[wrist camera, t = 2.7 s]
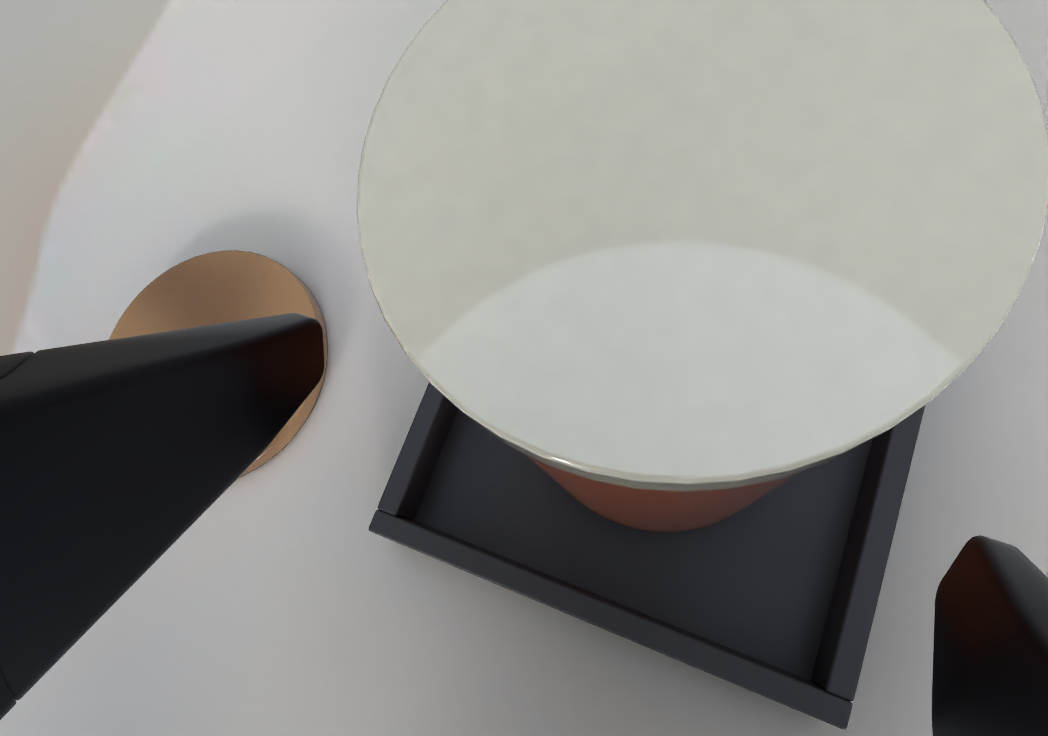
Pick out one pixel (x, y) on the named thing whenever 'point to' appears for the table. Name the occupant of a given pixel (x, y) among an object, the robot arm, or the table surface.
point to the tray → (671, 556)
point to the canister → (699, 229)
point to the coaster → (224, 309)
